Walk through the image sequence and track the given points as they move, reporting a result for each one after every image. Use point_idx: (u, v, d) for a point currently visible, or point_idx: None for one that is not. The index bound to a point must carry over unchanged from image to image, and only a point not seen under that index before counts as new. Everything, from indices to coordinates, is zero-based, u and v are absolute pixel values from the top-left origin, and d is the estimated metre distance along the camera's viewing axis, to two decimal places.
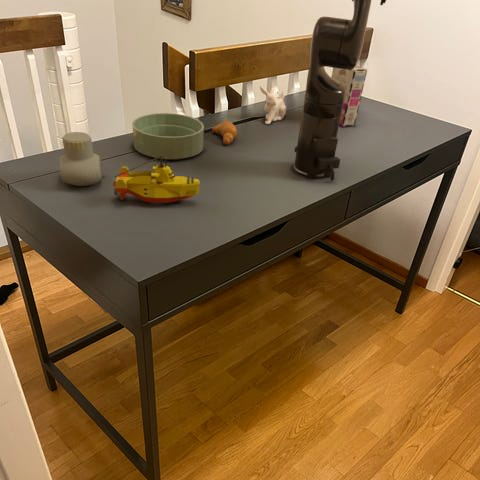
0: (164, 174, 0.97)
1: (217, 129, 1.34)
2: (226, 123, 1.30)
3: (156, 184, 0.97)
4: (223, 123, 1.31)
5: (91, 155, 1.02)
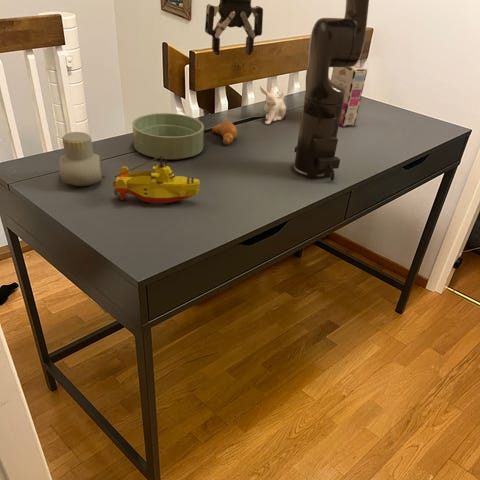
0: (164, 174, 0.97)
1: (217, 129, 1.34)
2: (226, 123, 1.30)
3: (156, 184, 0.97)
4: (223, 123, 1.31)
5: (91, 155, 1.02)
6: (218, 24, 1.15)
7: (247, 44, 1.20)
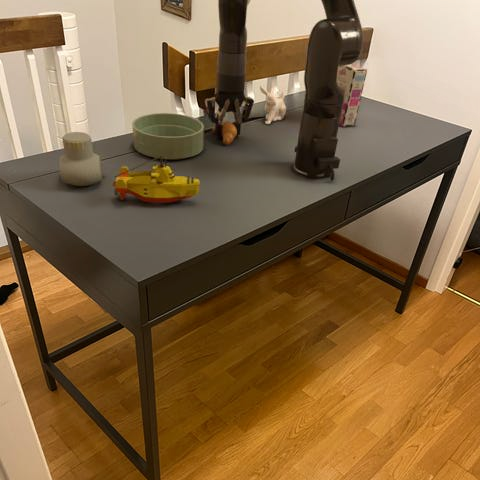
0: (164, 174, 0.97)
1: None
2: (226, 123, 1.30)
3: (156, 184, 0.97)
4: (223, 123, 1.31)
5: (91, 155, 1.02)
6: (218, 112, 1.29)
7: None
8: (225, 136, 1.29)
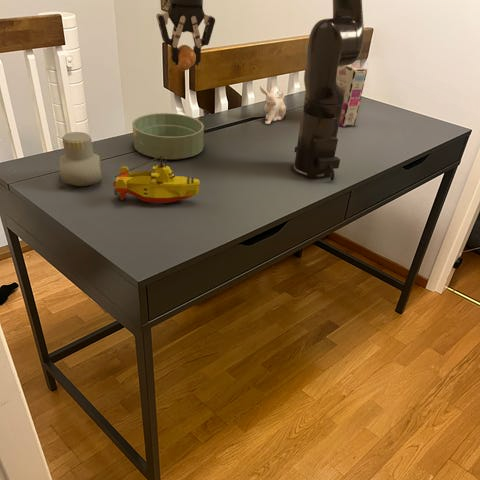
0: (164, 174, 0.97)
1: None
2: (183, 46, 1.12)
3: (156, 184, 0.97)
4: (180, 47, 1.13)
5: (91, 155, 1.02)
6: (173, 32, 1.11)
7: None
8: (181, 60, 1.11)
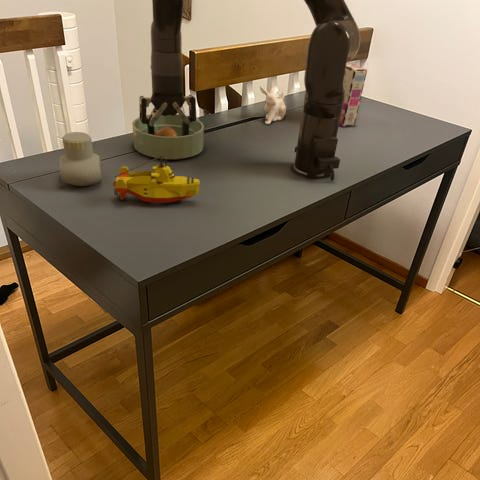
0: (164, 174, 0.97)
1: (158, 135, 1.25)
2: (166, 129, 1.22)
3: (156, 184, 0.97)
4: (163, 129, 1.23)
5: (91, 155, 1.02)
6: (152, 113, 1.19)
7: (183, 129, 1.23)
8: None
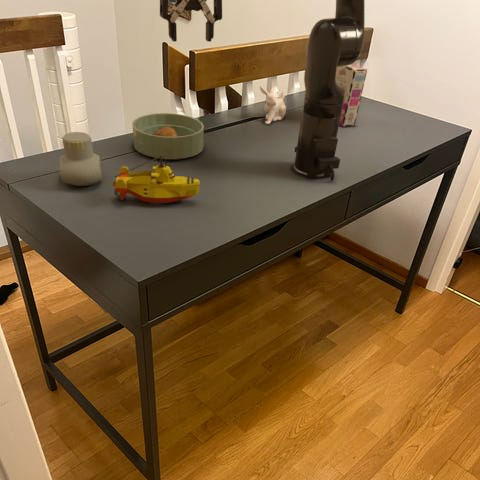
0: (164, 174, 0.97)
1: (158, 135, 1.25)
2: (166, 129, 1.22)
3: (156, 184, 0.97)
4: (163, 129, 1.23)
5: (91, 155, 1.02)
6: (174, 8, 1.06)
7: (207, 30, 1.11)
8: None
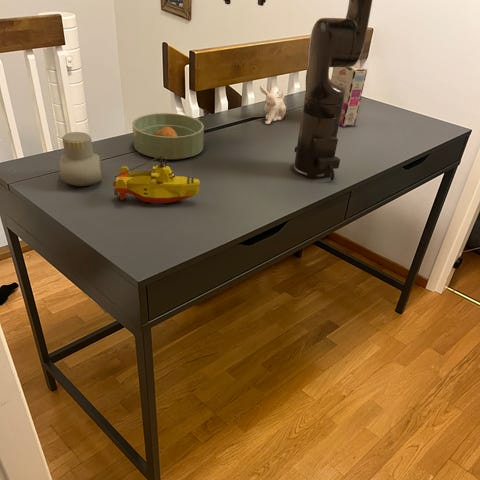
0: (164, 174, 0.97)
1: (158, 135, 1.25)
2: (166, 129, 1.22)
3: (156, 184, 0.97)
4: (163, 129, 1.23)
5: (91, 155, 1.02)
6: None
7: None
8: None
